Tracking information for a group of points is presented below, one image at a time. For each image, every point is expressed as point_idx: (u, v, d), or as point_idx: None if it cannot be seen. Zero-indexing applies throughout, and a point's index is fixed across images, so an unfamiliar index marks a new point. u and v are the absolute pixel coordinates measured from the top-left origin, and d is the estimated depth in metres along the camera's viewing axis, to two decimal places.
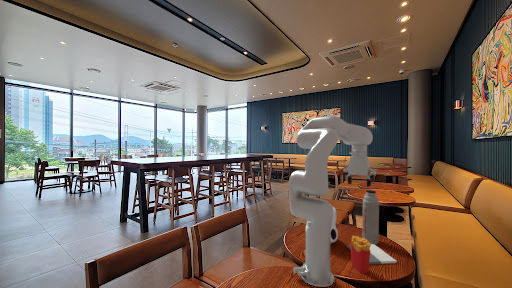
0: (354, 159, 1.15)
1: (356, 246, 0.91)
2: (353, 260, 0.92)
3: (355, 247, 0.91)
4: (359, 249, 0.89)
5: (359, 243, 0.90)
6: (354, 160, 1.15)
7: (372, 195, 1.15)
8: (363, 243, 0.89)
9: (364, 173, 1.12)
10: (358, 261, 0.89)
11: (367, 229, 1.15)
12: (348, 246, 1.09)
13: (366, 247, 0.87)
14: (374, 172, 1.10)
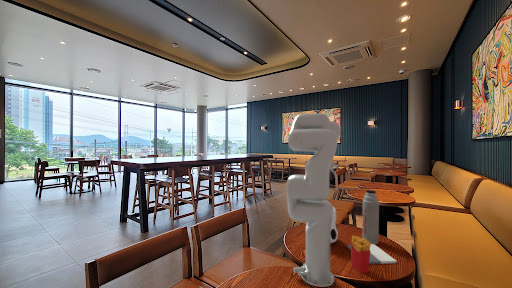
0: None
1: (356, 246, 0.91)
2: (353, 260, 0.92)
3: (355, 247, 0.91)
4: (359, 249, 0.89)
5: (359, 243, 0.90)
6: None
7: (372, 195, 1.15)
8: (363, 243, 0.89)
9: (331, 167, 1.15)
10: (358, 261, 0.89)
11: (367, 229, 1.15)
12: (348, 246, 1.09)
13: (366, 247, 0.87)
14: (337, 166, 1.18)
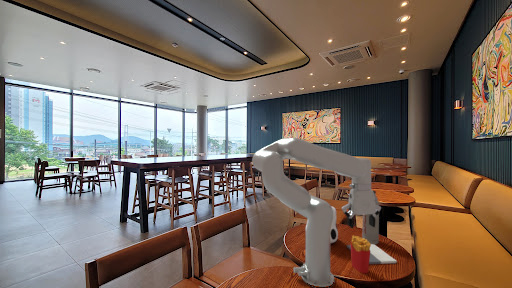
0: (361, 194, 0.88)
1: (356, 246, 0.91)
2: (353, 260, 0.92)
3: (355, 247, 0.91)
4: (359, 249, 0.89)
5: (359, 243, 0.90)
6: (361, 195, 0.88)
7: None
8: (363, 243, 0.89)
9: (373, 211, 0.89)
10: (358, 261, 0.89)
11: (367, 229, 1.15)
12: (348, 246, 1.09)
13: (366, 247, 0.87)
14: (379, 208, 0.91)
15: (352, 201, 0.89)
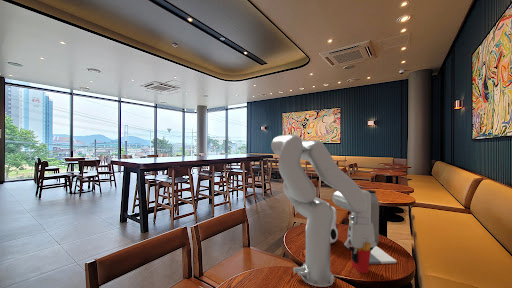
0: (360, 228, 0.88)
1: None
2: None
3: None
4: (359, 249, 0.89)
5: None
6: (360, 229, 0.88)
7: (372, 195, 1.15)
8: None
9: (372, 245, 0.89)
10: (358, 261, 0.89)
11: None
12: None
13: (366, 247, 0.87)
14: (375, 244, 0.91)
15: (351, 234, 0.89)
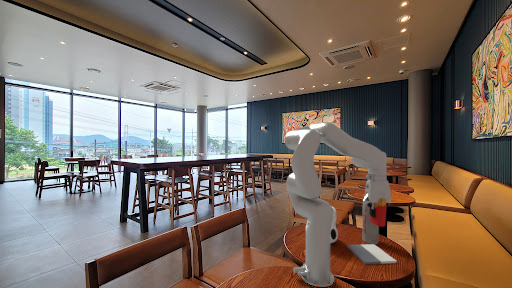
0: (377, 185, 0.96)
1: None
2: None
3: None
4: (376, 205, 0.98)
5: None
6: (377, 185, 0.96)
7: None
8: None
9: (388, 200, 0.97)
10: (375, 216, 0.98)
11: (367, 229, 1.15)
12: (348, 246, 1.09)
13: (382, 202, 0.95)
14: (390, 201, 0.99)
15: (369, 191, 0.97)
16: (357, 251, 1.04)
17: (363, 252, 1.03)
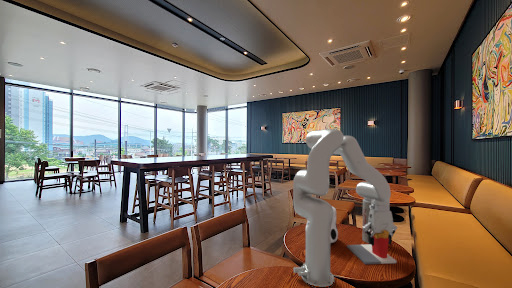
0: (380, 215, 0.98)
1: (375, 234, 1.01)
2: (373, 246, 1.02)
3: (375, 235, 1.02)
4: (378, 236, 0.99)
5: None
6: (380, 216, 0.98)
7: None
8: None
9: (391, 230, 0.99)
10: (378, 247, 0.99)
11: None
12: (348, 246, 1.09)
13: (384, 235, 0.97)
14: (395, 227, 1.01)
15: (372, 221, 0.99)
16: (357, 251, 1.04)
17: (363, 252, 1.03)
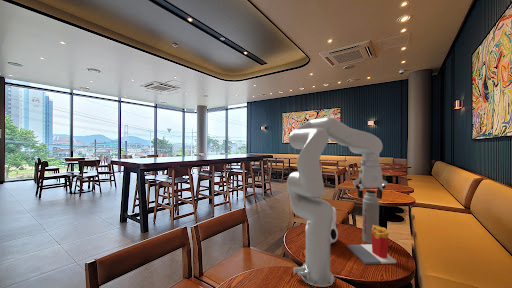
0: (370, 170, 1.03)
1: (376, 234, 1.01)
2: (373, 246, 1.02)
3: (375, 235, 1.02)
4: (378, 236, 0.99)
5: (378, 231, 1.00)
6: (370, 170, 1.03)
7: (372, 195, 1.15)
8: (382, 231, 0.99)
9: (380, 185, 1.03)
10: (378, 247, 0.99)
11: (367, 229, 1.15)
12: (348, 246, 1.09)
13: (384, 234, 0.97)
14: (386, 182, 1.05)
15: (362, 175, 1.04)
16: (357, 251, 1.04)
17: (363, 252, 1.03)
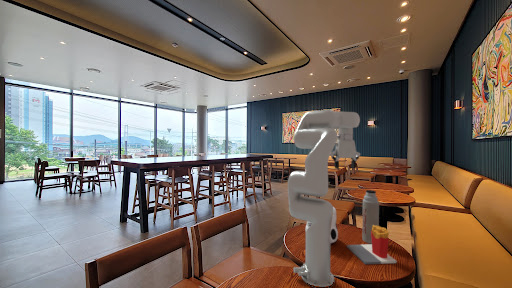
0: (344, 142, 1.16)
1: (376, 234, 1.01)
2: (373, 246, 1.02)
3: (375, 235, 1.02)
4: (378, 236, 0.99)
5: (378, 231, 1.00)
6: (344, 143, 1.16)
7: (372, 195, 1.15)
8: (382, 231, 0.99)
9: (354, 155, 1.16)
10: (378, 247, 0.99)
11: (367, 229, 1.15)
12: (348, 246, 1.09)
13: (384, 234, 0.97)
14: (359, 154, 1.19)
15: (338, 148, 1.17)
16: (357, 251, 1.04)
17: (363, 252, 1.03)
